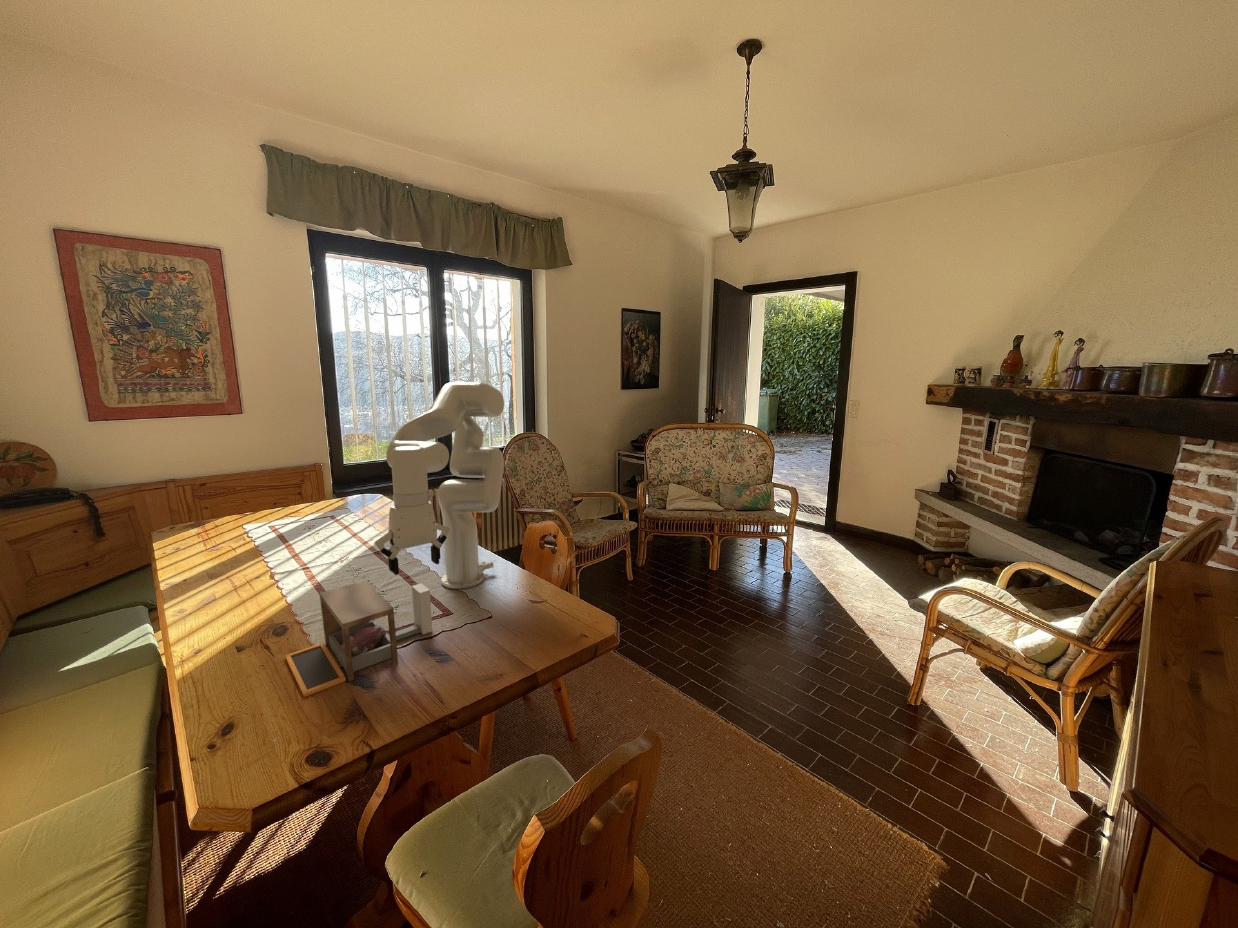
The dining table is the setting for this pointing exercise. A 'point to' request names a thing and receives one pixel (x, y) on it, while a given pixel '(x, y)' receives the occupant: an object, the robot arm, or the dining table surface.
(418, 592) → the grey drawer with handle
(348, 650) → the brown wooden stand
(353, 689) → the dining table surface
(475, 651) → the dining table surface
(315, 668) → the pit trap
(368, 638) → the video game controller
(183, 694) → the dining table surface
